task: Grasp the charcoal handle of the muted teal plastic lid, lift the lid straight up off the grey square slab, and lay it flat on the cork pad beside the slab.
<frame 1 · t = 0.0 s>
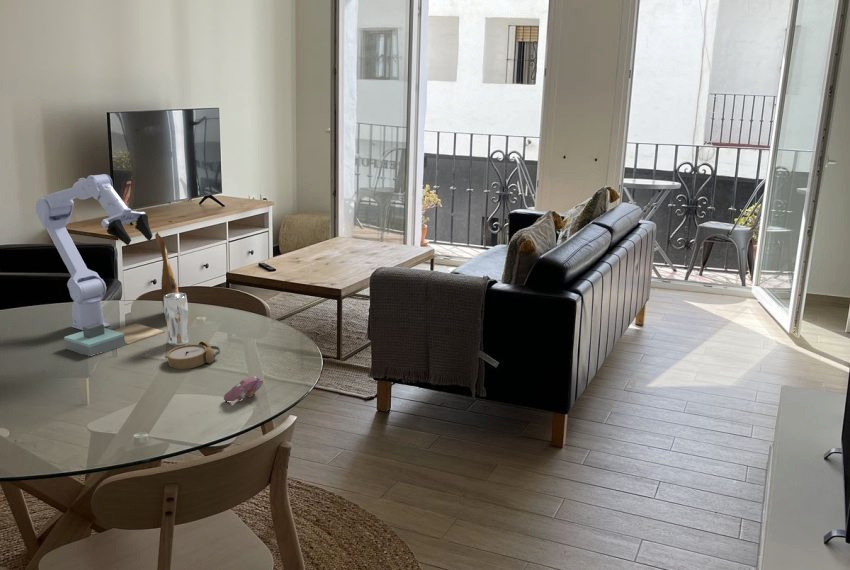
hand: (140, 240, 242), 32 cm above the table, tool tilted 50°, fingers open, 7 cm apart
lid: (94, 337, 247), point 3 cm above the table, touching grey square slab
cork pad: (132, 333, 260), on the table
grey square slab: (95, 347, 248), on the table
alarm clock: (194, 362, 238), on the table
video game controller: (244, 399, 213), on the table
beer glass: (178, 343, 253), on the table
pancake mix bag: (171, 317, 277), on the table
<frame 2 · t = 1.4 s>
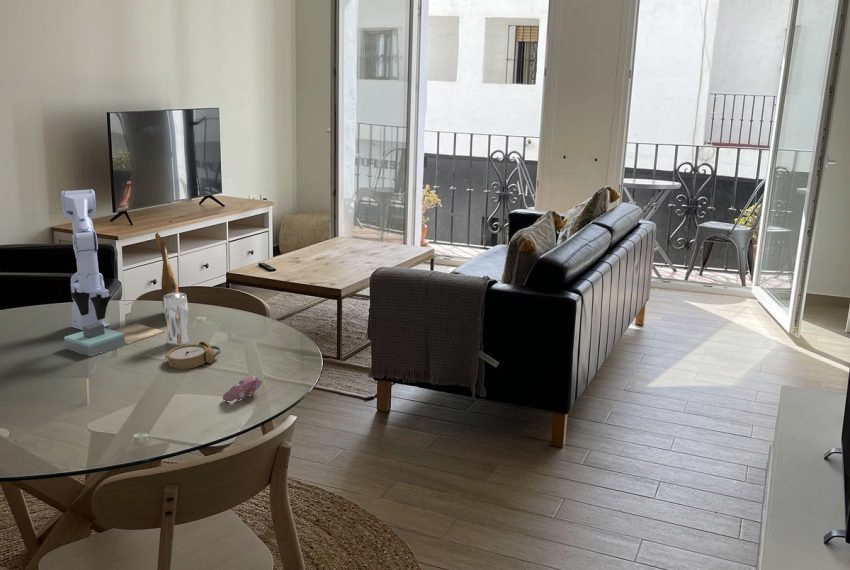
hand: (92, 316, 245), 10 cm above the table, tool pointing down, fingers open, 7 cm apart
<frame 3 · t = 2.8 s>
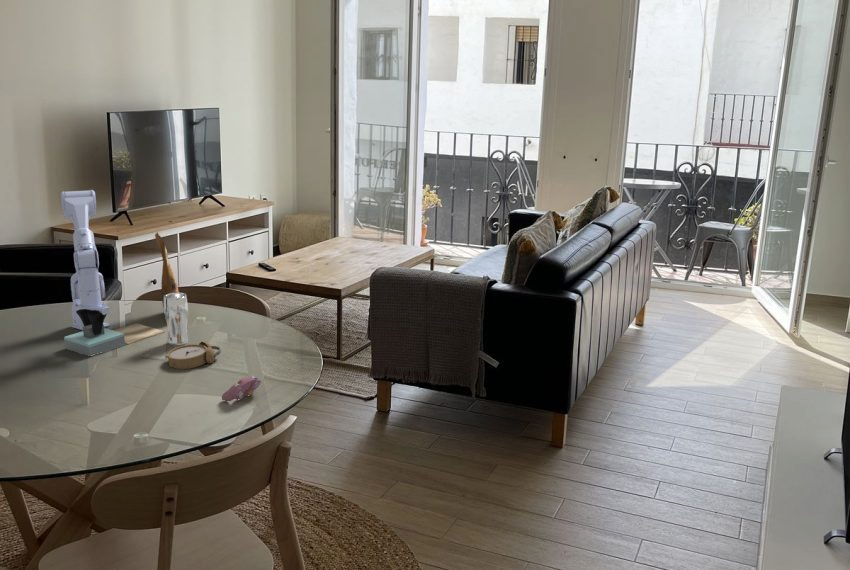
hand: (94, 333, 247), 5 cm above the table, tool pointing down, fingers closed on lid, 3 cm apart
lid: (94, 337, 247), point 3 cm above the table, touching gripper, grey square slab
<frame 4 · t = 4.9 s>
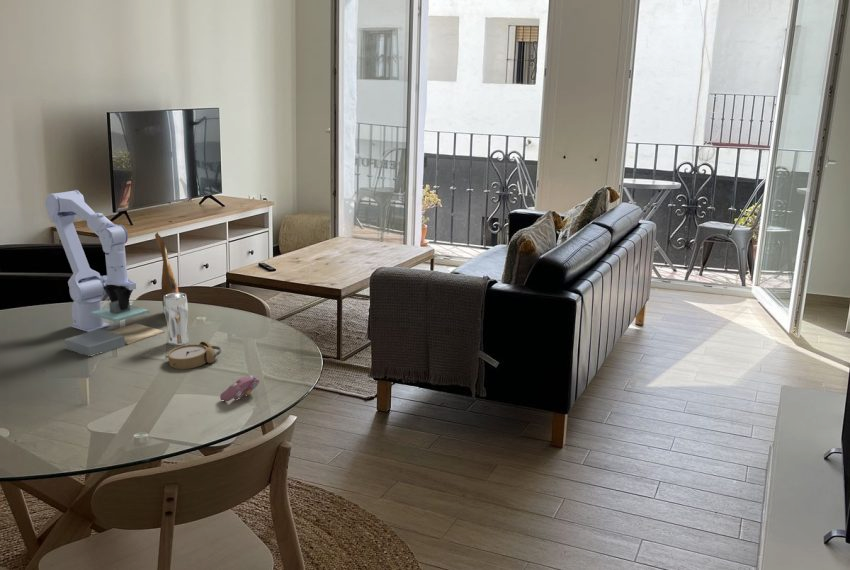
hand: (120, 308, 254), 9 cm above the table, tool pointing down, fingers closed on lid, 3 cm apart
lid: (120, 313, 254), point 8 cm above the table, touching gripper
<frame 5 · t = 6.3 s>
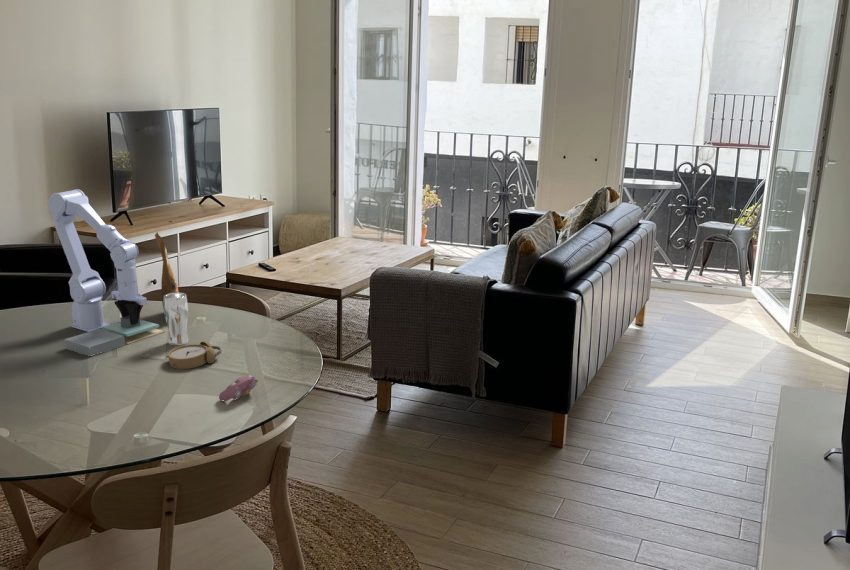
hand: (131, 322, 259), 4 cm above the table, tool pointing down, fingers closed on lid, 3 cm apart
lid: (130, 328, 259), point 2 cm above the table, touching gripper
when the fingers open (3 cm above the table, at t = 7.2 s): lid stays where it is, resting on cork pad.
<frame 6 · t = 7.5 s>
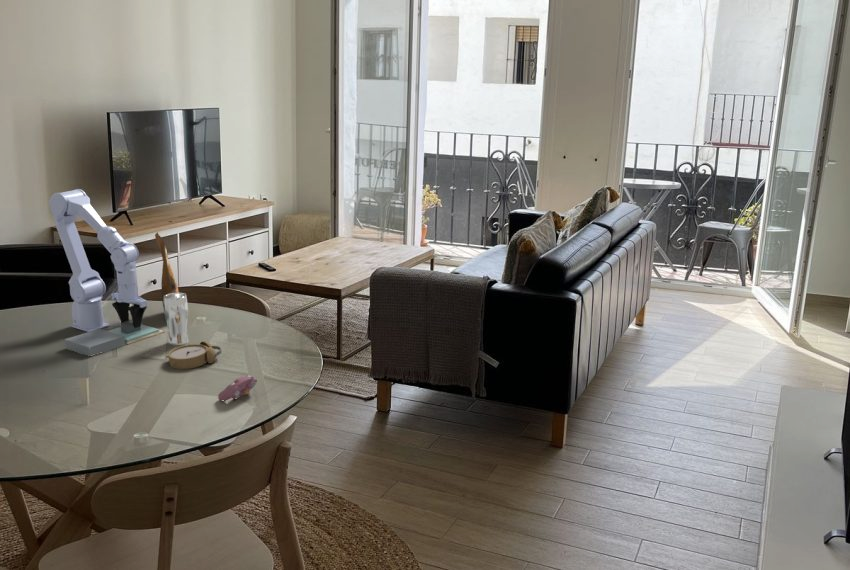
hand: (131, 325, 259), 3 cm above the table, tool pointing down, fingers open, 5 cm apart
lid: (131, 333, 259), resting on cork pad
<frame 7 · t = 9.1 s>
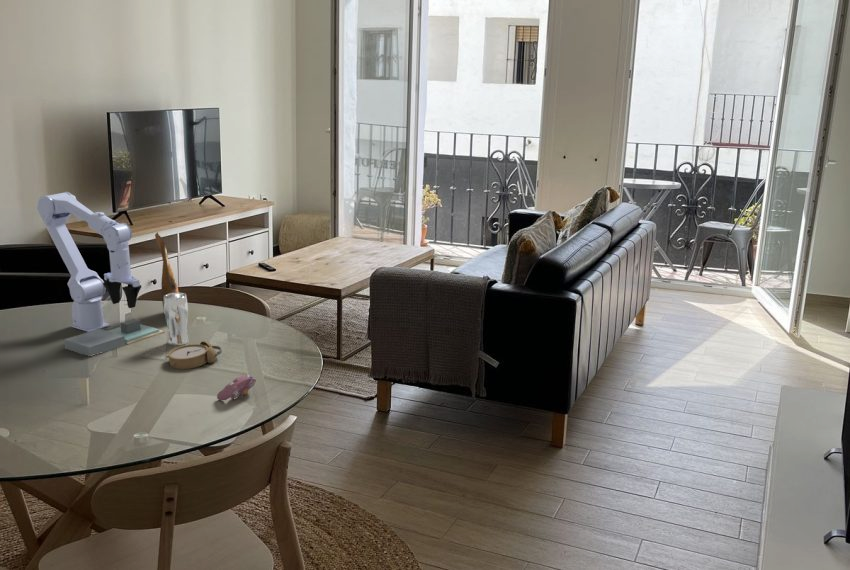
hand: (123, 305, 257), 9 cm above the table, tool pointing down, fingers open, 7 cm apart
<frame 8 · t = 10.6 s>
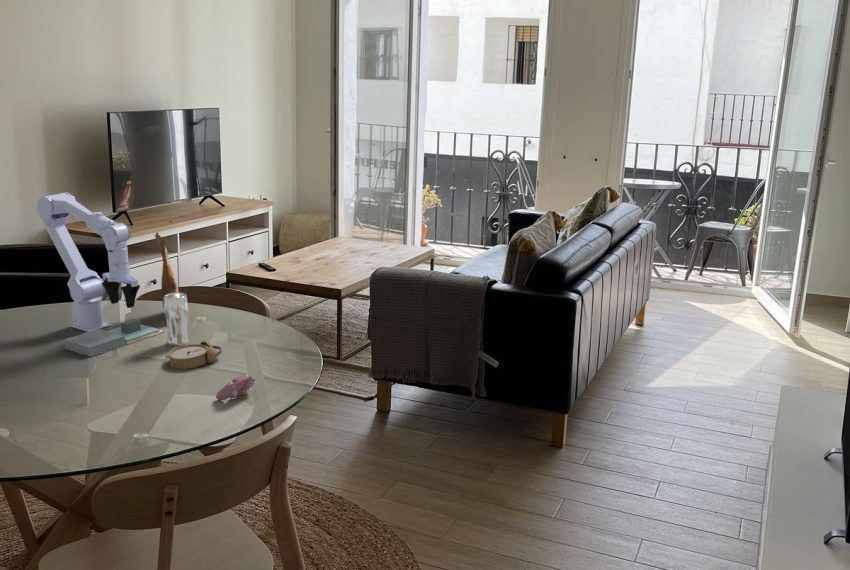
hand: (122, 305, 257), 9 cm above the table, tool pointing down, fingers open, 7 cm apart
at the end: lid inside the target area on the cork pad (0.3 cm from its centre), point 0.3 cm above the cork pad's base; lid tilted 0°; the gripper is holding nothing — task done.
